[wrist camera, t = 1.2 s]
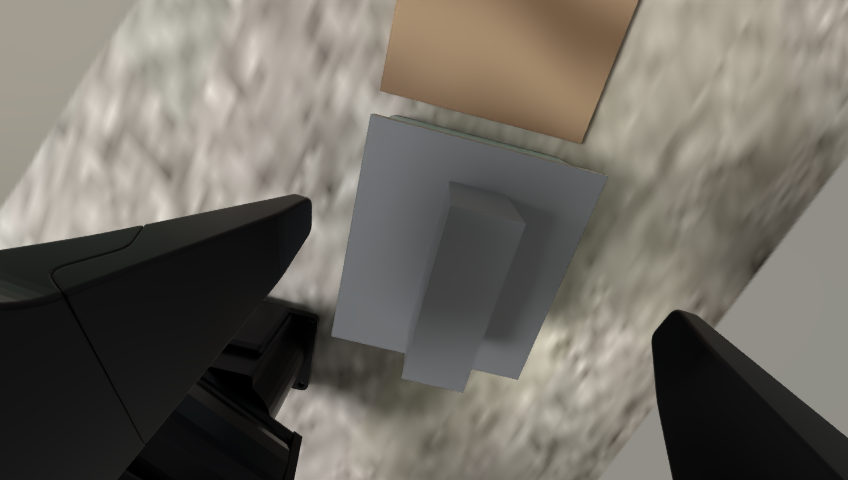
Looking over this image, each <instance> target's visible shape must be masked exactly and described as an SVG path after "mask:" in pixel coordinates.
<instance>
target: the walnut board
mask: <svg viewBox="0 0 848 480" xmlns="http://www.w3.org/2000/svg"><path fill="white" fill-rule="evenodd" d="M637 3H638V0H397V1H396V6H395V12H394V17H393V22H392V28H391V33H390V39H389V44H388V50H387V55H386V61H385V66H384V72H383V77H382V82H381V88H380V91H383V92H387V93H391V94H394V95H398V96H402V97H406V98H410V99H413V100H417V101H421V102H425V103H428V104H432V105H436V106H440V107H444V108H447V109H451V110H455V111H459V112H462V113H466V114H470V115H474V116H478V117H481V118H485V119H489V120H493V121H496V122H500V123H504V124H508V125H512V126H515V127H519V128H523V129H527V130H530V131H534V132H538V133H542V134H546V135H549V136H553V137H557V138H561V139H564V140H568V141H572V142H576V143H580V144H581V142H582V140H583V137H584V135H585V132H586V130H587V127H588V125H589V122H590V120H591V117H592V115H593V112H594V110H595V107H596V105H597V102H598V100H599V97H600V95H601V92H602V90H603V87H604V85H605V82H606V80H607V77H608V75H609V72H610V70H611V67H612V65H613V63H614V60H615V58H616V55H617V53H618V50H619V48H620V45H621V43H622V40H623V38H624V35H625V33H626V30H627V28H628V25H629V23H630V20H631V18H632V15H633V13H634V10H635V8H636V5H637Z"/></svg>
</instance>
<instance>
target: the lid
mask: <svg viewBox="0 0 848 480" xmlns="http://www.w3.org/2000/svg"><path fill="white" fill-rule="evenodd" d="M607 178H608V176H606V175H604V174H602V173H599V172H595V171H592V170H588V169H584V168H580V167H576V166H572V165H569V164H565V163H561V162H557V161H553V160H550V159H546V158H542V157H538V156H534V155H530V154H527V153H523V152H519V151H515V150H511V149H507V148H504V147H500V146H496V145H492V144H488V143H485V142H481V141H477V140H473V139H469V138H465V137H462V136H458V135H454V134H450V133H446V132H443V131H439V130H435V129H431V128H427V127H423V126H420V125H416V124H412V123H408V122H404V121H400V120H397V119H393V118H389V117H385V116H381V115H378V114H371V115H370V121H369V126H368V132H367V138H366V143H365V149H364V154H363V160H362V166H361V171H360V177H359V182H358V188H357V194H356V199H355V205H354V210H353V216H352V222H351V227H350V233H349V238H348V244H347V250H346V255H345V261H344V266H343V272H342V278H341V283H340V289H339V294H338V300H337V306H336V311H335V317H334V322H333V328H332V334H331V336H332V337H337V338H341V339H345V340H349V341H354V342H358V343H362V344H367V345H371V346H375V347H379V348H384V349H388V350H392V351H397V352H401V353H405V357H404V363H403V370H402V377H401V379H405V380H409V381H414V382H418V383H422V384H427V385H431V386H435V387H440V388H444V389H449V390H453V391H457V392H462V393H463V390H464V388H465V385H466V382H467V380H468V377H469V374H470V372H471V369H474V370H478V371H482V372H487V373H491V374H495V375H499V376H504V377H508V378H512V379H517V380H518V378H519V376H520V374H521V371H522V369H523V367H524V365H525V362H526V360H527V358H528V356H529V353H530V351H531V349H532V347H533V344H534V342H535V340H536V338H537V335H538V333H539V331H540V329H541V326H542V324H543V322H544V320H545V317H546V315H547V313H548V311H549V308H550V306H551V304H552V302H553V299H554V297H555V295H556V293H557V290H558V288H559V286H560V284H561V281H562V279H563V277H564V275H565V272H566V270H567V268H568V266H569V263H570V261H571V259H572V257H573V254H574V252H575V250H576V248H577V245H578V243H579V241H580V239H581V236H582V234H583V232H584V230H585V227H586V225H587V223H588V221H589V218H590V216H591V214H592V212H593V209H594V207H595V205H596V203H597V200H598V198H599V196H600V194H601V191H602V189H603V187H604V185H605V182H606V180H607Z"/></svg>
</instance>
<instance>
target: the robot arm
mask: <svg viewBox="0 0 848 480" xmlns="http://www.w3.org/2000/svg"><path fill="white" fill-rule="evenodd" d="M311 226H312V203H311V200H310V199H309V198H307V197H304V196H300V195H297V194H292V195H287V196H282V197H278V198H273V199H268V200H263V201H258V202H253V203H248V204H243V205H239V206H234V207H229V208H224V209H219V210H214V211H209V212H204V213H200V214H195V215H190V216H185V217H180V218H175V219H170V220H165V221H160V222H156V223H151V224H146V225H145V226H144V227H143V226H136V227H131V228H126V229H121V230H116V231H111V232H105V233H100V234H95V235H90V236H84V237H78V238H72V239H66V240H60V241H54V242H48V243H41V244H35V245H29V246H22V247H16V248H10V249H3V250H0V480H294V478H295V472H296V467H297V462H298V457H299V452H300V446H301V441H302V436H300V435H299V434H298V433H296V432H295V431H294V432H292V431H290V430H289V429H288V428H286V427H285V426H284V425H282V424H281V423H279V422H278V421H277V420H275V417H276V415H277V414H278V412H279V410H280V408H281V406H282V404H283V402H284V400H285V398H286V397H287V395H288V393H289V391H290V389H291V388H293V389H298V390H305V389H307V387H308V385H309V383H310V377H311V371H312V364H313V358H314V352H315V346H316V339H317V333H318V327H319V318H318V317H317V316H316V315H314V314H311V313H307V312H303V311H298V310H294V309H290V308H287V307H283V306H278V305H274V304H270V303H266V302H262V301H263V300H264V299H265V298H266V296H267V295H268V294H269V293H270V291H271V290H272V289H273V288H274V287H275V285H276V284H277V283H278V281H279V280H280V279H281V277H282V276H283V275H284V273H285V272H286V270H287V268H288V267H289V265H290V264H291V262H292V261H293V259H294V257H295V256H296V254H297V253H298V251H299V250H300V248H301V246H302V245H303V243H304V242H305V240H306V239H307V237H308V235H309V233H310V231H311ZM309 320H311V321H313V322H314V323H310V322H309ZM652 354H653V366H654V377H655V389H656V398H657V405H658V410H659V415H660V420H661V425H662V430H663V435H664V440H665V445H666V450H667V454H668V459H669V464H670V469H671V474H672V479H673V480H848V438H847V437H846V436H845V435H844V434H842V433H841V432H840V431H838V430H837V429H836V428H835V427H834V426H833V425H831V424H830V423H829V422H828V421H826V420H825V419H824V418H823V417H821V416H820V415H819V414H818V413H817V412H815V411H814V410H813V409H812V408H810V407H809V406H808V405H807V404H805V403H804V402H803V401H802V400H800V399H799V398H798V397H797V396H795V395H794V394H793V393H792V392H791V391H789V390H788V389H787V388H786V387H785V386H783V385H782V384H781V383H780V382H778V381H777V380H776V379H775V378H773V377H772V376H771V375H770V374H768V373H767V372H766V371H765V370H764V369H762V368H761V367H760V366H759V365H757V364H756V363H755V362H753V360H751V359H750V358H749V357H748V356H746V355H745V354H744V353H743V352H741V351H740V350H739V349H738V348H736V347H735V346H734V345H733V344H732V343H730V342H729V341H728V340H727V339H725V338H724V337H723V336H722V335H721V334H719V333H718V332H717V331H716V330H714V329H713V328H712V327H711V326H709V325H708V324H707V323H706V322H704V321H703V320H702V319H701V318H700V317H698V316H697V315H695V314H692V313H689V312H685V311H682V310H674V311H672V312H671V313H670V314H669V315H668V316H667V317H666V319H665V320H664V321H663V322H662V323H661V325H660V326H659V327H658V328H657V329H656V331H655V332H654V334H653V336H652ZM301 382H302V383H301ZM303 383H304V384H303Z"/></svg>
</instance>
